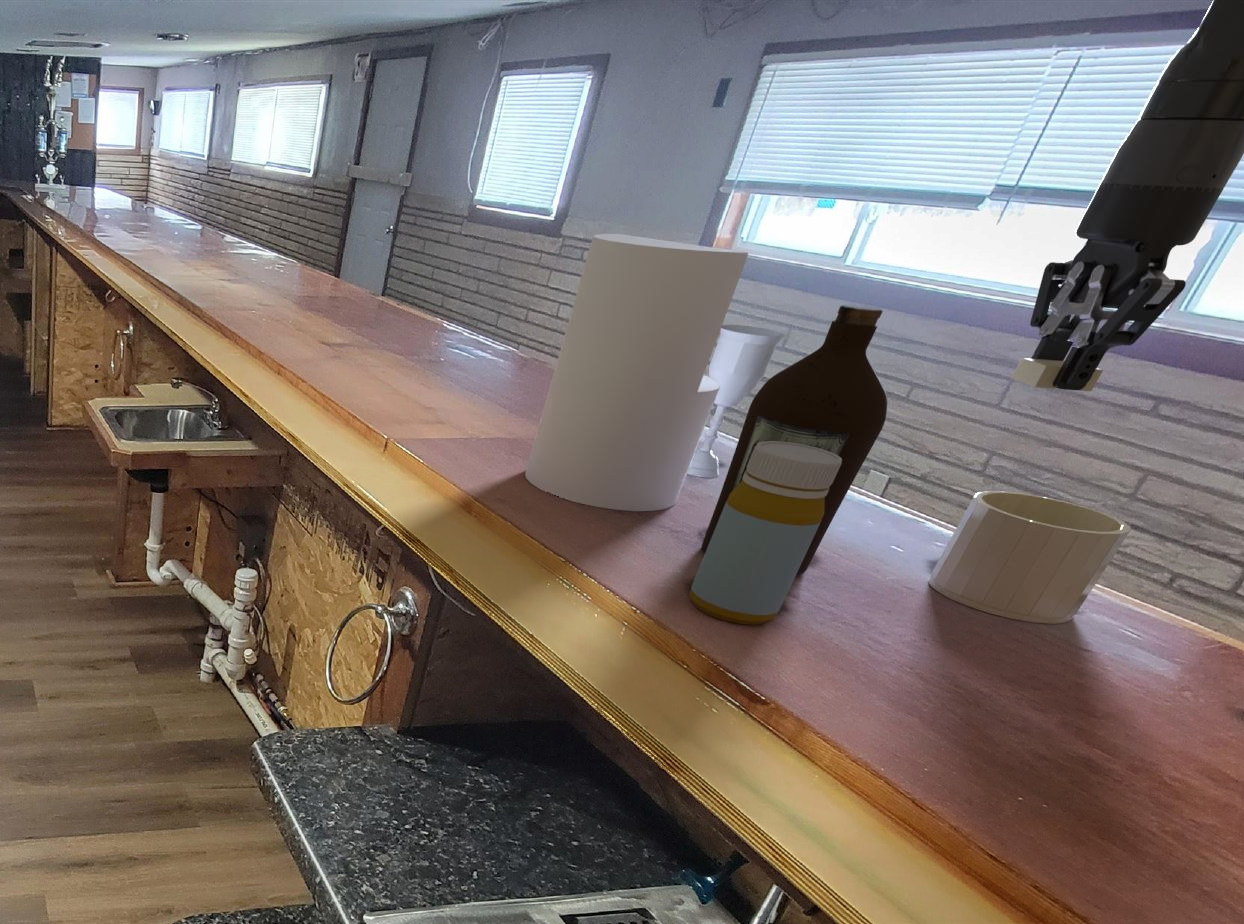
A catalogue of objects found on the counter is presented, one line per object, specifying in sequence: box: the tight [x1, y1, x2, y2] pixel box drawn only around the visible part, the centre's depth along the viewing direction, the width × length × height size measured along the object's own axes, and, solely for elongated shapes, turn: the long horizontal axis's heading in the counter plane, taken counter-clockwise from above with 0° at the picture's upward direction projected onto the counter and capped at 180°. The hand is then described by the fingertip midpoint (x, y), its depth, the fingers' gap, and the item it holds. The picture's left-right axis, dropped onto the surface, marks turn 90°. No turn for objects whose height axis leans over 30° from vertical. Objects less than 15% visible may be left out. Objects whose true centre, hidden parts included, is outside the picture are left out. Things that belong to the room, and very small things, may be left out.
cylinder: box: [524, 233, 749, 512], centre depth 106 cm, size 17×17×28 cm
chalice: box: [687, 324, 786, 479], centre depth 116 cm, size 7×7×18 cm
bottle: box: [688, 441, 842, 626], centre depth 80 cm, size 7×7×15 cm
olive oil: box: [701, 304, 889, 577], centre depth 88 cm, size 11×11×25 cm
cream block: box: [1010, 357, 1104, 392], centre depth 86 cm, size 5×4×2 cm
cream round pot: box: [928, 490, 1132, 625], centre depth 86 cm, size 11×11×9 cm
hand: (1051, 382), depth 86 cm, fingers closed on cream block, 3 cm apart
